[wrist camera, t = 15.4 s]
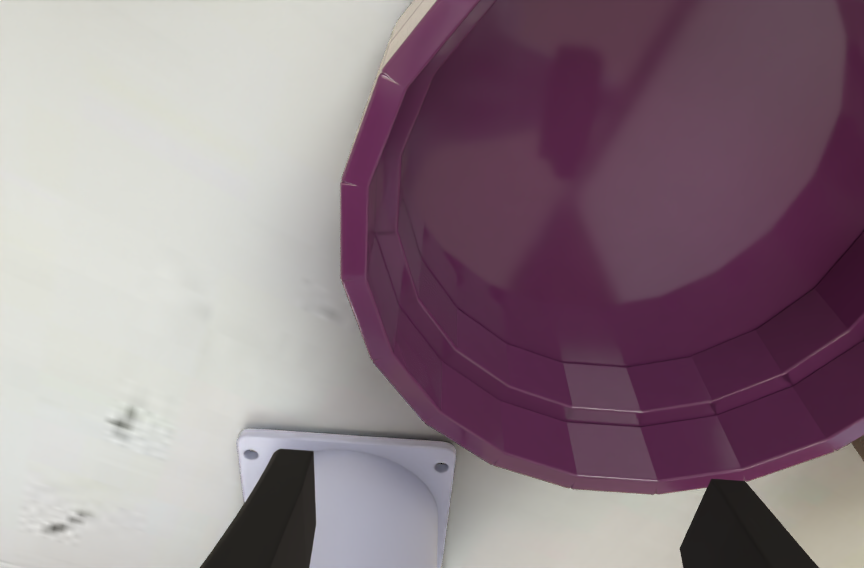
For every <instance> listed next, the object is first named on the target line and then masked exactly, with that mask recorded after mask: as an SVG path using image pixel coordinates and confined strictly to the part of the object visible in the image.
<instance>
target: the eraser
mask: <svg viewBox="0 0 864 568" xmlns="http://www.w3.org/2000/svg"><path fill="white" fill-rule="evenodd" d="M851 443H852V445H853V446H854V448H855V449H856V451H857V452H858V454H859V455H860V456H861V458H862V459H863V461H864V435H863V436H862V437H860V438H858V439H857V440H855V441H853V442H851Z"/></svg>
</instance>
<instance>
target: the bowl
mask: <svg viewBox="0 0 864 568" xmlns="http://www.w3.org/2000/svg"><path fill="white" fill-rule="evenodd" d="M340 278H341V280H342V284H343V287H344V290H345V292H346V295H347V298H348V300H349V303H350V305H351V308H352V311H353V313H354V316H355V319H356V321H357V324H358V327H359V329H360V332H361V334H362V337H363V340H364V342H365V345H366V348H367V350H368V353H369V356H370V358H371V360H373V363H374V364H375V366H376V367H377V368H378V369H379V370H380V371H381V373H382V374H383V375H384V376H385V377H386V378H387V380H388V381H389V382H390V383H391V384H392V385H393V387H394V388H395V389H396V390H397V391H398V393H399V394H400V395H401V396H402V397H403V398H404V400H405V401H406V402H407V403H408V404H409V405H410V407H411V408H412V409H413V410H414V411H415V412H416V414H417V415H418V416H419V417H420V418H421V419H422V421H424V422H425V424H427V425H428V426H430V427H431V428H433V429H435V430H436V431H438V432H439V433H441V434H443V435H444V436H446V437H447V438H449V439H451V440H452V441H454V442H455V443H457V444H459V445H460V446H462V447H463V448H465V449H467V450H468V451H470V452H471V453H473V454H475V455H476V456H478V457H479V458H481V459H483V460H484V461H486V462H487V463H489V464H491V465H492V464H493V465H494V466H496V467H500V468H503V469H506V470H510V471H513V472H516V473H519V474H523V475H526V476H529V477H532V478H536V479H539V480H542V481H546V482H549V483H552V484H555V485H559V486H562V487H565V488H571V489H577V490H592V491H607V492H622V493H636V494H651V495H654V494H655V493H656V494H665V493H672V492H680V491H687V490H694V489H701V488H707V487H708V485H709V483H710V480H711V479H723V480H737V481H746V482H748V481H751V480H754V479H757V478H760V477H763V476H766V475H768V474H771V473H774V472H777V471H780V470H783V469H786V468H789V467H792V466H795V465H798V464H800V463H803V462H806V461H809V460H812V459H815V458H818V457H821V456H824V455H827V454H830V453H832V452H834V450H835V451H837V450H839V449H841V448H843V447H844V446H846V445H848V444H850V443H851V442H853V441H855V440H857V439H858V438H860V437H862V436H863V435H864V0H413V1H412V3H411V4H410V5H409V7H408V8H407V9H406V10H405V12H404V13H403V14H402V16H401V17H400V18H399V19H398V21H397V22H396V25H395V27H394V28H393V31H392V34H391V37H390V39H389V42H388V45H387V48H386V50H385V53H384V56H383V59H382V62H381V64H380V67H379V70H378V73H377V75H376V78H375V81H374V84H373V87H372V89H371V92H370V95H369V98H368V101H367V103H366V106H365V109H364V112H363V115H362V118H361V121H360V124H359V127H358V130H357V133H356V136H355V139H354V142H353V145H352V148H351V151H350V154H349V157H348V160H347V163H346V166H345V169H344V172H343V175H342V180H341V183H340Z"/></svg>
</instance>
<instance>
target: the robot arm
mask: <svg viewBox="0 0 864 568" xmlns="http://www.w3.org/2000/svg"><path fill="white" fill-rule="evenodd" d="M237 450H238V458H239V466H240V474H241V483H242V491H243V499H244V505H243V506H242V508H241V509H240V511H239V513H238V514H237V516H236V517H235V519H234V520H233V521H232V523H231V524H230V526H229V527H228V529H227V530H226V532H225V533H224V535H223V536H222V537H221V539H220V540H219V542H218V543H217V545H216V546H215V548H214V549H213V550H212V552H211V553H210V555H209V556H208V557H207V559H206V560H205V561H204V563H203V564H202V565H201V567H200V568H442V560H443V553H444V545H445V538H446V530H447V523H448V515H449V508H450V500H451V493H452V485H453V478H454V470H455V463H456V448H455V447H454V446H453V445H452V444H450V443H448V442H444V441H429V440H415V439H400V438H386V437H371V436H357V435H342V434H328V433H313V432H299V431H284V430H270V429H255V428H249V429H244V430H242V431H241V432H240V433H239V436H238V439H237ZM250 450H254V451H256V452H254V451H250ZM438 463H445V464H438ZM680 552H681V557H682V563H683V568H819V567H818V566H817V565H816V564H815V563H814V562H813V560H812V559H811V558H810V557H809V556H808V555H807V553H806V552H805V551H804V550H803V549H802V548H801V546H800V545H799V544H798V543H797V542H796V541H795V539H794V538H793V537H792V536H791V535H790V534H789V532H788V531H787V530H786V529H785V528H784V527H783V525H782V524H781V523H780V522H779V521H778V519H777V518H776V517H775V516H774V515H773V514H772V512H771V511H770V510H769V509H768V508H767V506H766V505H765V504H764V503H763V502H762V501H761V499H760V498H759V497H758V496H757V495H756V493H755V492H754V491H753V490H752V489H751V488H750V487H749V485H748V484H747V483H746V482H745V481H737V480H723V479H711V480H710V483H709V485H708V487H707V489H706V491H705V494H704V496H703V498H702V500H701V503H700V505H699V507H698V509H697V511H696V514H695V516H694V518H693V520H692V522H691V525H690V527H689V529H688V531H687V534H686V536H685V538H684V540H683V542H682V545H681V547H680Z"/></svg>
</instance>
